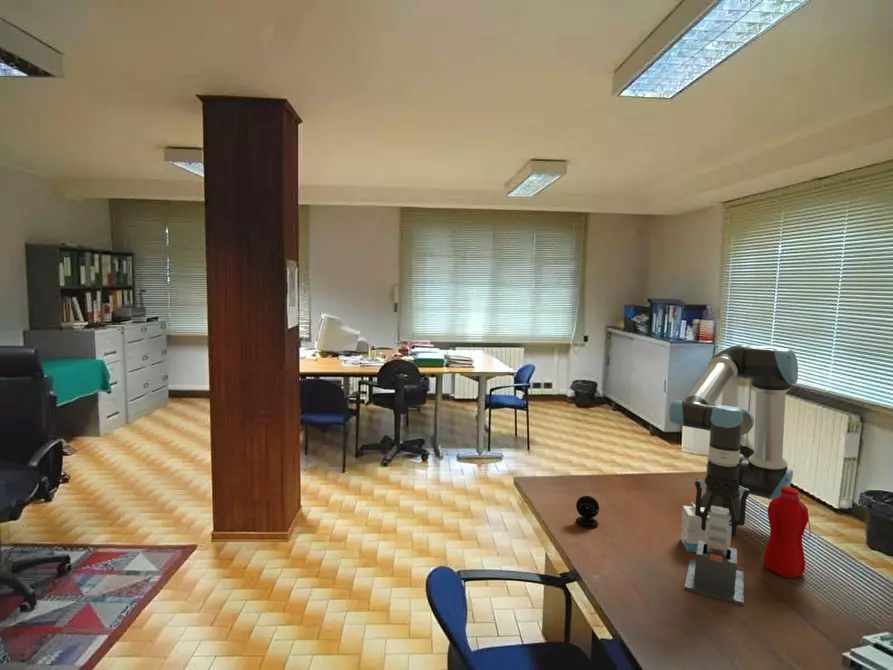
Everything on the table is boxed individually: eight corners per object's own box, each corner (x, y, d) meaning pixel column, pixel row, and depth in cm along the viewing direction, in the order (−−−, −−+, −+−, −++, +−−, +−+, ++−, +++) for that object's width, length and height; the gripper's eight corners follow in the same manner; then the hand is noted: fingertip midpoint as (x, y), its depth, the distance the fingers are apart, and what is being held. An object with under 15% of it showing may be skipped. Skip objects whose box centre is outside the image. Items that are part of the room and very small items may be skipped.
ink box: (715, 554, 164) (718, 512, 163) (686, 551, 165) (689, 509, 164) (707, 542, 172) (710, 502, 171) (680, 539, 174) (682, 499, 173)
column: (704, 569, 151) (709, 504, 149) (726, 575, 148) (731, 509, 147) (703, 578, 146) (708, 511, 145) (726, 584, 143) (731, 516, 142)
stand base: (690, 561, 158) (692, 529, 158) (743, 575, 152) (745, 541, 151) (684, 589, 143) (686, 554, 142) (743, 606, 136) (746, 569, 135)
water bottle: (796, 585, 147) (804, 498, 145) (758, 566, 157) (764, 485, 155) (815, 577, 152) (822, 493, 150) (776, 560, 161) (783, 481, 159)
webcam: (573, 526, 181) (575, 497, 180) (576, 517, 188) (578, 490, 187) (597, 530, 178) (598, 501, 177) (599, 522, 185) (600, 494, 184)
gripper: (686, 460, 146) (681, 541, 148) (761, 472, 137) (754, 558, 139) (689, 453, 152) (683, 531, 154) (760, 464, 144) (754, 547, 145)
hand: (717, 543), depth 146 cm, fingers closed on column, 5 cm apart
